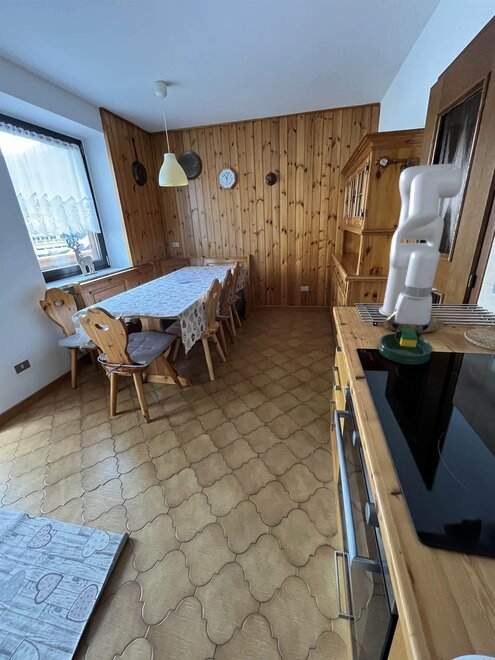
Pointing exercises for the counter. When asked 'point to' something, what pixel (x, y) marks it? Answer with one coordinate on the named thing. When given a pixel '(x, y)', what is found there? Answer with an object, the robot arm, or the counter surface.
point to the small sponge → (408, 337)
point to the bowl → (404, 350)
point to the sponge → (435, 327)
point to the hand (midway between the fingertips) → (406, 340)
